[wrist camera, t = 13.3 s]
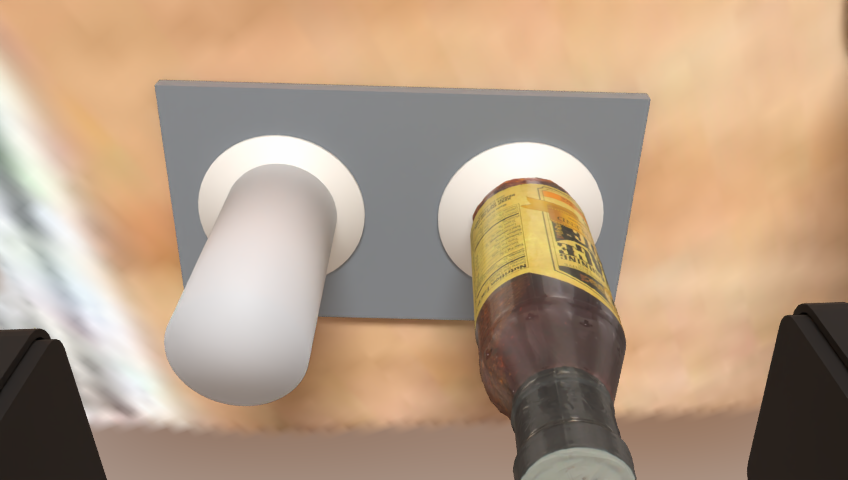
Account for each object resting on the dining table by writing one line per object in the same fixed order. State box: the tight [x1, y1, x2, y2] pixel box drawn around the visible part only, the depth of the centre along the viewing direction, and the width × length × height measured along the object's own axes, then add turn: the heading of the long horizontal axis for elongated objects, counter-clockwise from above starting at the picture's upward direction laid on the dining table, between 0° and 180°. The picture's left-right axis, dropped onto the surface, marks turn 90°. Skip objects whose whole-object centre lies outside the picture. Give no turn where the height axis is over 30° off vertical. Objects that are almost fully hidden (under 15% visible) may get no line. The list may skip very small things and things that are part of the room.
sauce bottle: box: [470, 177, 636, 480], centre depth 36 cm, size 6×6×20 cm
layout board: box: [155, 80, 650, 406], centre depth 40 cm, size 25×14×13 cm, turn 88°
